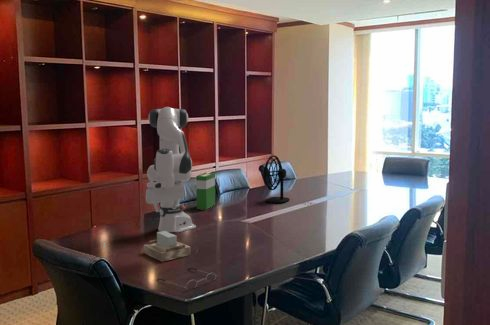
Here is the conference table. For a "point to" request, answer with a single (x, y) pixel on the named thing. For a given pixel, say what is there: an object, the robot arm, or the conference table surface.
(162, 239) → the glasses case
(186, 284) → the eyeglasses
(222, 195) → the conference table surface
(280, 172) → the desk fan
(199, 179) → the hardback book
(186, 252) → the display stand
